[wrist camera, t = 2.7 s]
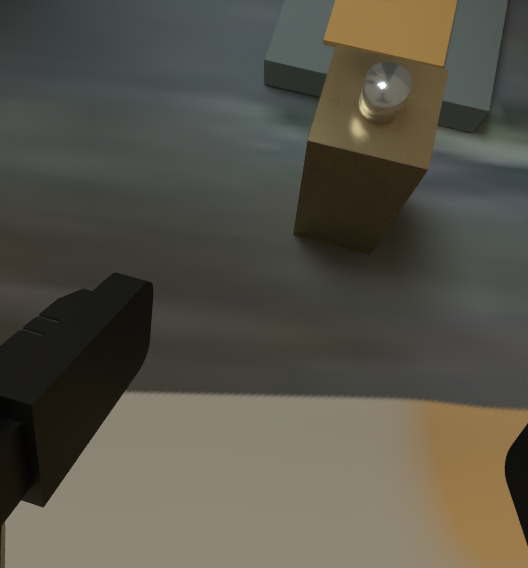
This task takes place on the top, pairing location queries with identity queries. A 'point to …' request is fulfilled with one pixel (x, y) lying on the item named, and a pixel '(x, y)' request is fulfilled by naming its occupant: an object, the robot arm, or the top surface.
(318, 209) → the block
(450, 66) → the press
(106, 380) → the robot arm
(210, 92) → the top surface
